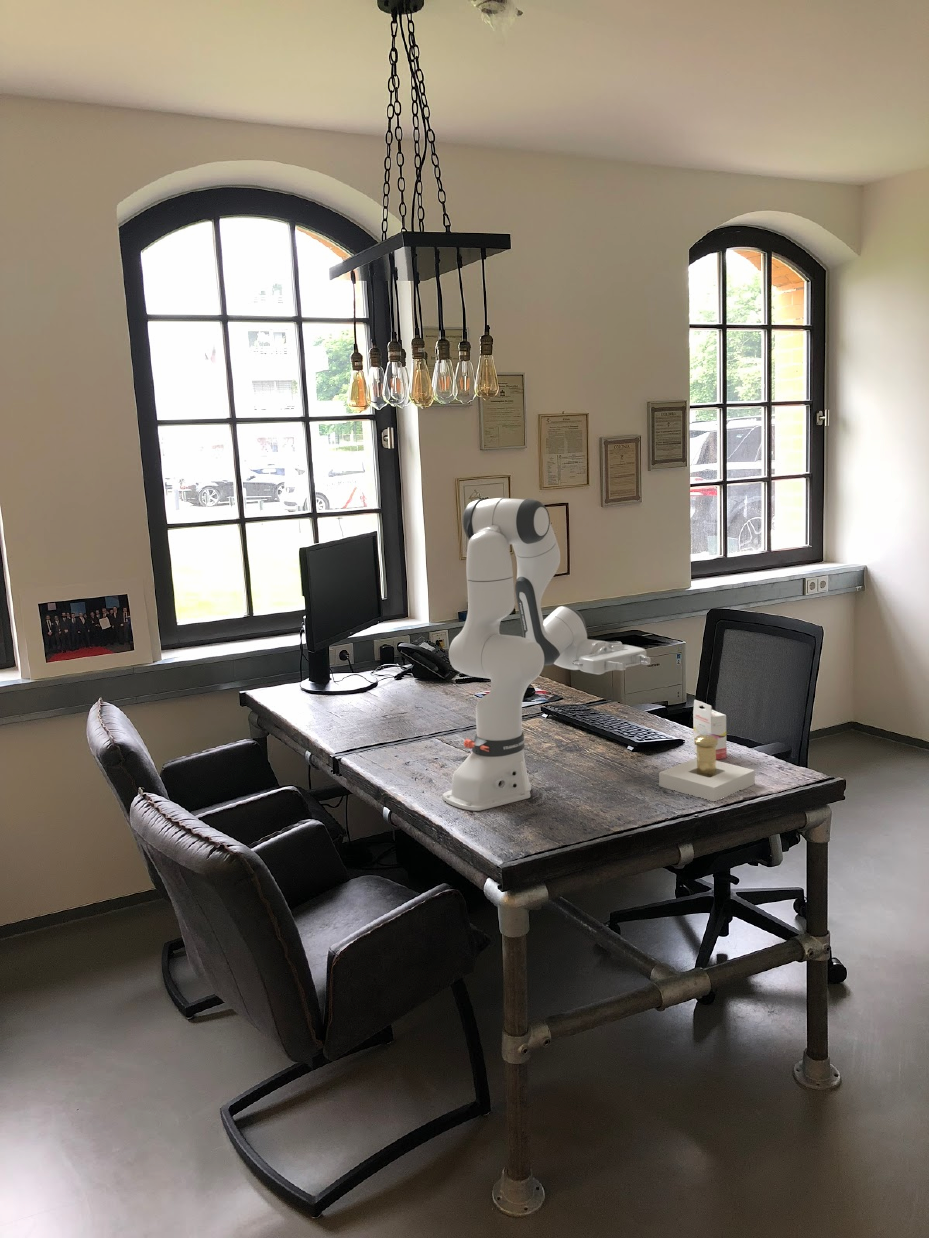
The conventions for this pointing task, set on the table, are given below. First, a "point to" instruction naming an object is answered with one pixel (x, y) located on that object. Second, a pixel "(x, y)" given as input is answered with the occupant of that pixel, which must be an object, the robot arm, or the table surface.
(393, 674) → the table surface
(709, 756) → the brass fitting
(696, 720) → the ink cartridge box
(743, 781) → the socket block
